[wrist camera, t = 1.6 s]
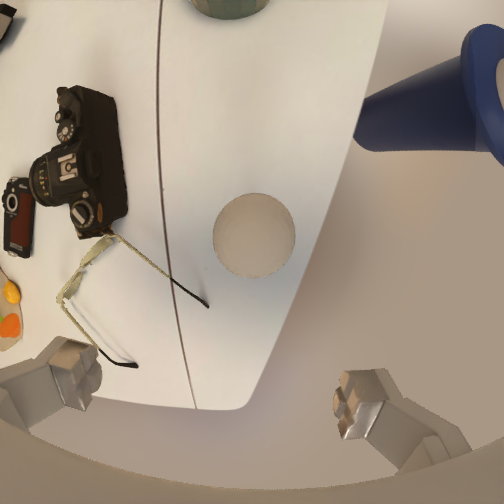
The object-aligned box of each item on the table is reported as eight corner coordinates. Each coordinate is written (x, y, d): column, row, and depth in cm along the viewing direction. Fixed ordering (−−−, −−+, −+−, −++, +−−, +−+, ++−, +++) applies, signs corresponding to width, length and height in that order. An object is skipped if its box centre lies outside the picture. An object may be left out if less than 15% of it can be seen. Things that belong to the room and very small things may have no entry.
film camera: (38, 135, 29) (-12, 135, 20) (107, 81, 28) (63, 60, 18) (87, 251, 34) (44, 279, 25) (164, 207, 33) (132, 224, 23)
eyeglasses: (125, 215, 33) (107, 224, 28) (213, 303, 36) (209, 324, 31) (62, 298, 36) (44, 313, 31) (136, 368, 39) (126, 390, 35)
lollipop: (266, 244, 34) (280, 303, 20) (218, 227, 33) (196, 276, 19) (286, 193, 32) (316, 217, 18) (236, 175, 32) (226, 184, 17)
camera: (-3, 248, 31) (1, 174, 28) (9, 244, 34) (13, 173, 31) (21, 261, 31) (26, 181, 28) (33, 256, 34) (39, 180, 31)
